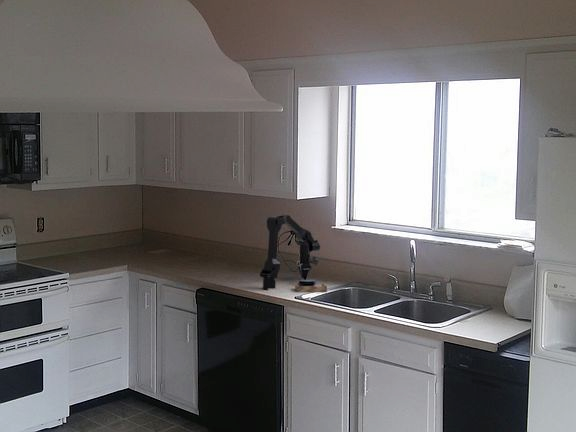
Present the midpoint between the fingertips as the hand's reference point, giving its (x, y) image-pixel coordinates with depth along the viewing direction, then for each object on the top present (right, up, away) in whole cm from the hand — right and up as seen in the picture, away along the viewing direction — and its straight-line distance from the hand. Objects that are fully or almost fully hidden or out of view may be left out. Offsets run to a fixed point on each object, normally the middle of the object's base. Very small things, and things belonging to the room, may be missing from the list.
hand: (303, 279), depth 433 cm
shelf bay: (+3, -4, -27) cm, 27 cm away
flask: (+2, -4, -14) cm, 15 cm away
